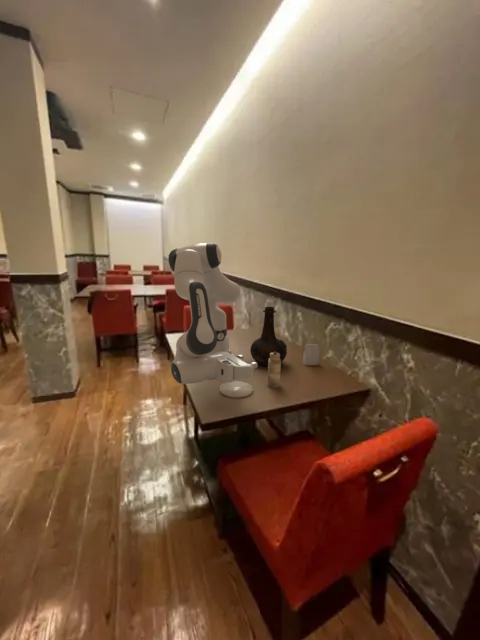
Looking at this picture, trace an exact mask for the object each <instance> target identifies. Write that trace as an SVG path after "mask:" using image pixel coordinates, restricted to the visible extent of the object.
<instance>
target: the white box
mask: <svg viewBox="0 0 480 640" xmlns="http://www.w3.org/2000/svg"><path fill="white" fill-rule="evenodd" d="M302 351H303V352H302V353H303V354H302V364H303V365H304V366H319V359H320V346H319V344H317V343H316V344H315V343H313V344H312V343H311V344H310V343H308V344H307V343H305V344H304V349H303V350H302Z"/></svg>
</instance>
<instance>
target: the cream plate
mask: <svg viewBox="0 0 480 640" xmlns="http://www.w3.org/2000/svg"><path fill="white" fill-rule="evenodd" d="M253 392H254V387H253V386H252V385H251V384H250V383H248V382H244V381H239V380H233V381H232V382H229V383H228V382H224V383H222V384H221V385H220V386H219V393H220V394H221V395H223V396H225V397H228V398H233V399H237V398H238V399H241V398H245V397H249V396H250V395H252V394H253Z"/></svg>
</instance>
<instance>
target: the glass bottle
mask: <svg viewBox="0 0 480 640" xmlns="http://www.w3.org/2000/svg"><path fill="white" fill-rule="evenodd" d="M262 312H263V313H264V317H263V326H262V331H261V334H260V337H259V338H257V339H255V340H254V341H253V342H252V343H251V346H250V348H249V349H250V350H249V351H250V355H251V357H252V359H253V360H254V362H256V363H257V364H260V365H262V366H267V367H268V360H269V358H270V353H274V352H277V353H279V354H280V359H281V363H282V362H283V361H284V360H285V358H286V357H287V355H288V352H287V351H288V350H287V344H286V343H285V342H284V340H282V339H278V338H277V337H276V332H275V321H274V320H275V318H274V317H275V315H274V314H275V313H276V310H275V307H273V306H265V307H264V310H263V311H262Z"/></svg>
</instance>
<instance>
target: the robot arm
mask: <svg viewBox="0 0 480 640" xmlns="http://www.w3.org/2000/svg"><path fill="white" fill-rule="evenodd" d="M167 259H168V264H169V268H170V270H171V271H172V272H173V275H174V276H173V277H174V278H173V279H174V289H175V292H176V294H177V296H178V297H180V298H181V299H183V300H185V301H188V302H189V310H190V318H191V323H190V326H189V329H188V330H186V331H185V332H184V333H183V334H182V335H181V336H180V337H179V338H178V339H177V341H176V345H175V349H176V350H175V355H174V358H173V361H172V362H171V365H170V369H171V371H170V372H171V374H172V377H173V379H174V381H176V382H177V383H178V384H181V385H191V384H197V383H202V382H204V381H213V380H216V381H223V382H224V383H226V382H228V383H229V382H232V381H239V380H244V379H248V378H251V377H252V376H253V374H254V370H255V369H256V368H258V364H259V363H258V362H256V361H253V362H251V363H248V362H246V361H244V359H245V358H244V357H245V356H244V355H243V354H232V353H231V352H232V350H231V349H230V340H229V337H228V336H227V335H228V328H227V313H226V312H225V310H223V309H221V308H220V306H218V303H225V304H230V303H236V302H237V301H238V300H239V299H240V297H241V288H240V285H239V284H238V283H236V282H234V281H232V280H230V279H229V278H228V277H226V275H225V274H223V273H222V271H221V270H220V268H219V266H220V265H221V263H222V251H221V249H220V247H219V245H218V244H217V243H215V242H204V243H203V242H198V243H195V244H192V245H186V246H183V247H180V248H175V249H173V250H171V251H170V253H168V258H167Z"/></svg>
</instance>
